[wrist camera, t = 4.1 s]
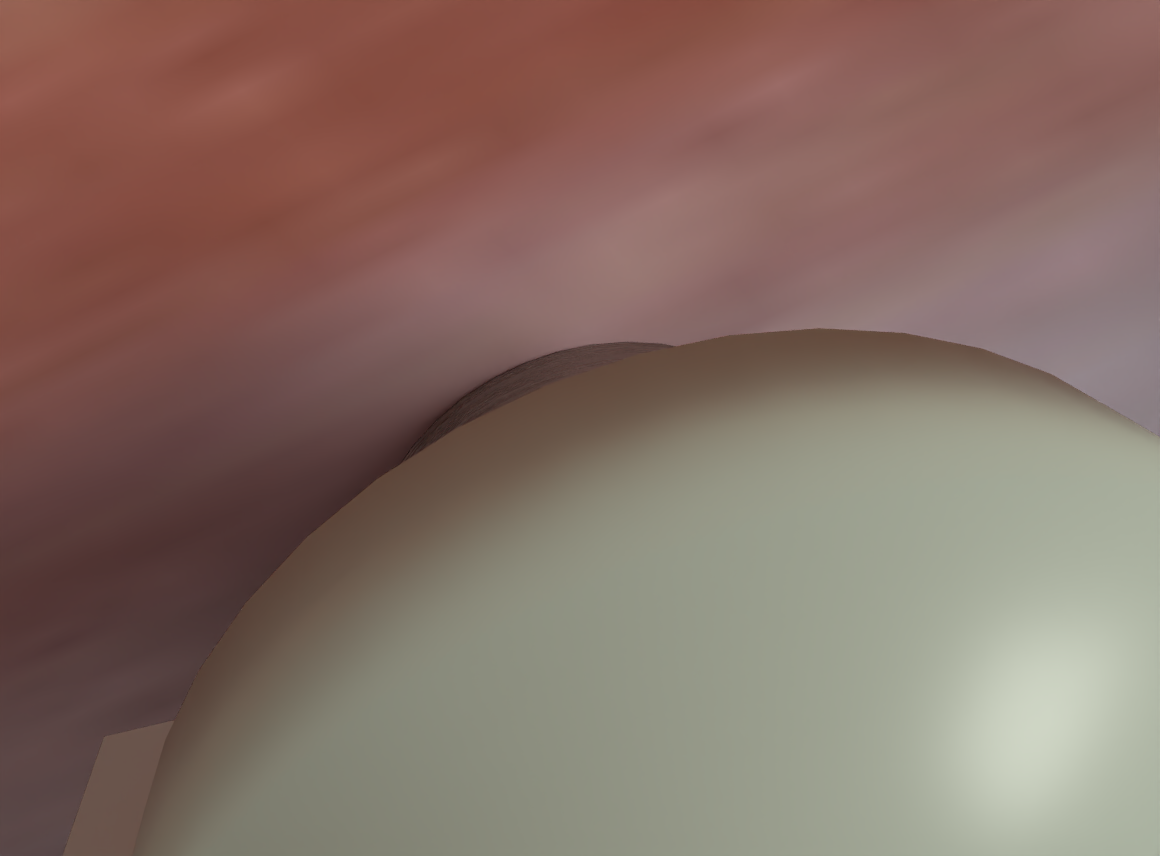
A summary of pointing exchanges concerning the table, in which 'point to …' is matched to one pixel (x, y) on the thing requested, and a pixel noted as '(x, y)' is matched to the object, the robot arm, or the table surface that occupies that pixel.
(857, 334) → the lid
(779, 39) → the table surface
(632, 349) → the lid stand
